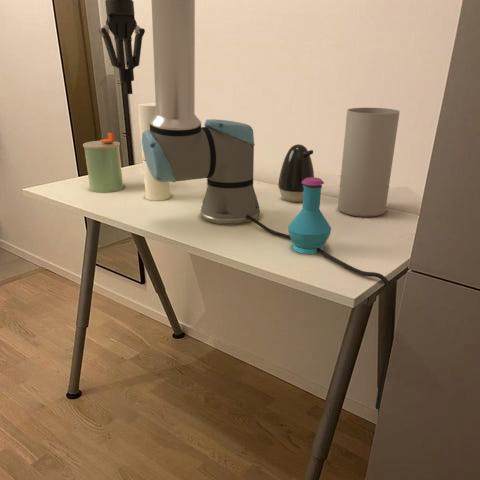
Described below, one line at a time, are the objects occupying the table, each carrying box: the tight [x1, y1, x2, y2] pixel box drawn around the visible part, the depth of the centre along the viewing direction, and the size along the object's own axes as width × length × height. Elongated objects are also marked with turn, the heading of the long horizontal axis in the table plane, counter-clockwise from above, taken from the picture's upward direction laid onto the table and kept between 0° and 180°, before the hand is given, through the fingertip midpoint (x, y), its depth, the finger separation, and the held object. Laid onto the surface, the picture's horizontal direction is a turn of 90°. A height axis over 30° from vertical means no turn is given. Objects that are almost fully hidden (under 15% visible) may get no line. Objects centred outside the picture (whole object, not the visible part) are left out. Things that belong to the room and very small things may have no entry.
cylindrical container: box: [137, 102, 171, 201], centre depth 141 cm, size 7×7×25 cm
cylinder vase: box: [337, 107, 401, 218], centre depth 129 cm, size 12×12×25 cm
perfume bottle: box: [287, 176, 332, 255], centre depth 107 cm, size 9×9×15 cm
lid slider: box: [99, 132, 116, 143], centre depth 150 cm, size 4×3×2 cm
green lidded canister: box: [82, 140, 124, 193], centre depth 153 cm, size 11×11×13 cm
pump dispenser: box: [278, 143, 315, 203], centre depth 141 cm, size 10×10×15 cm
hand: (128, 93), depth 148 cm, fingers closed
